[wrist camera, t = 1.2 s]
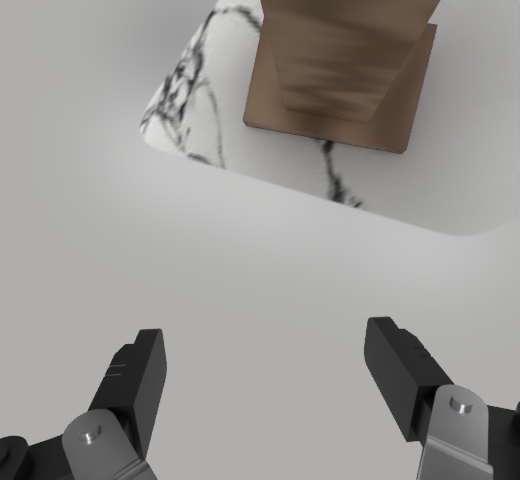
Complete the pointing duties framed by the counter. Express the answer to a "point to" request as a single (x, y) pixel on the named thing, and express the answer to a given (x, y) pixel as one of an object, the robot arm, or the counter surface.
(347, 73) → the wooden pedestal column
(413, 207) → the counter surface
